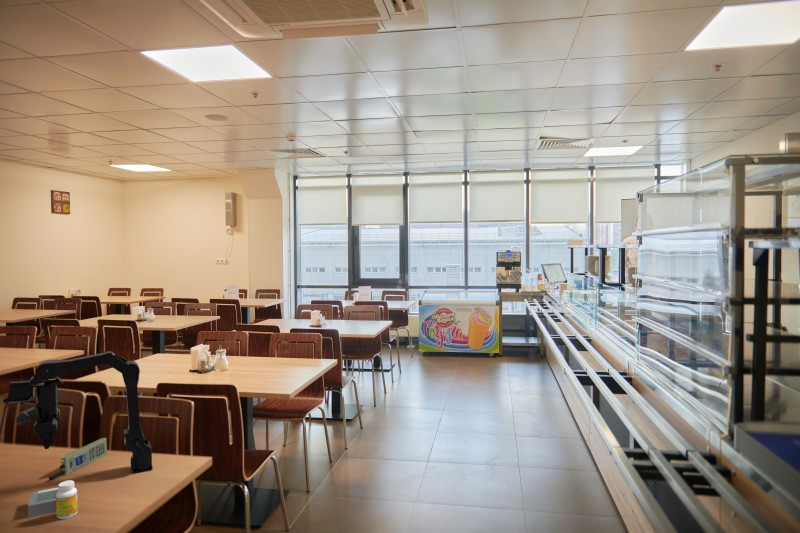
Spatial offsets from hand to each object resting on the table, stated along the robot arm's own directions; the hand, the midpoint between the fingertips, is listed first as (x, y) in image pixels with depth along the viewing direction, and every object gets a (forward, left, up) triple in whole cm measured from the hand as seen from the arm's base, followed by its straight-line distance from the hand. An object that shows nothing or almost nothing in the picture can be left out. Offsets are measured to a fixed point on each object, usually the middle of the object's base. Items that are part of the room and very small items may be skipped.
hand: (47, 444), depth 174 cm
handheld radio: (-8, -14, -15) cm, 22 cm away
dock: (-1, +16, -15) cm, 22 cm away
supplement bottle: (-6, +25, -15) cm, 30 cm away
